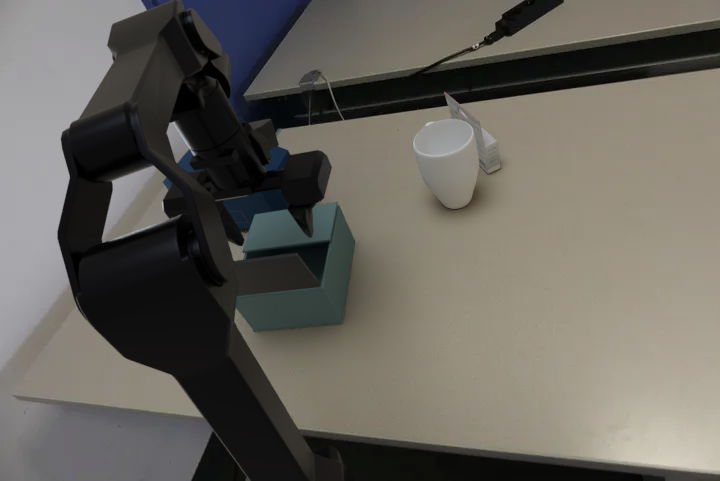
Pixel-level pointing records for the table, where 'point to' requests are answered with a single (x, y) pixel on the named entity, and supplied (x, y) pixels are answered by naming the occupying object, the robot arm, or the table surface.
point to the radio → (252, 204)
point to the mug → (448, 160)
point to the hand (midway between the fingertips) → (276, 239)
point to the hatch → (273, 274)
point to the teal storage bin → (321, 255)
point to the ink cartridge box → (477, 137)
